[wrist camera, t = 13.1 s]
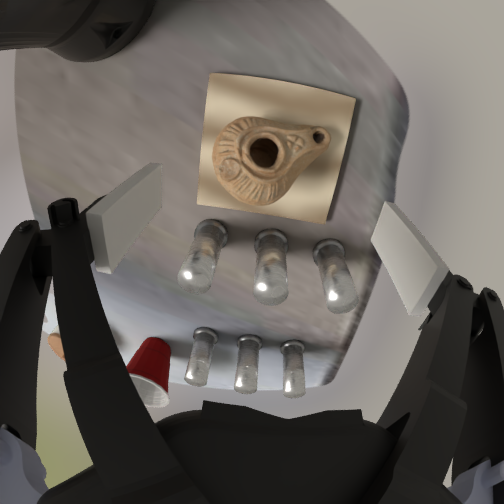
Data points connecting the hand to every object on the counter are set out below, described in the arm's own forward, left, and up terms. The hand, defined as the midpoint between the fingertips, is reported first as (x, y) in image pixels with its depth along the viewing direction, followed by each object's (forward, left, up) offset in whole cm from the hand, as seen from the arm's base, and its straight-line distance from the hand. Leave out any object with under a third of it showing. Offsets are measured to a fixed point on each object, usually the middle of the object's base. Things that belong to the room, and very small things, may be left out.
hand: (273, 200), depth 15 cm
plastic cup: (+40, -16, -17) cm, 47 cm away
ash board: (0, 0, -17) cm, 17 cm away
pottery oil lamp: (0, 0, -16) cm, 16 cm away
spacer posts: (+23, +2, -17) cm, 29 cm away
